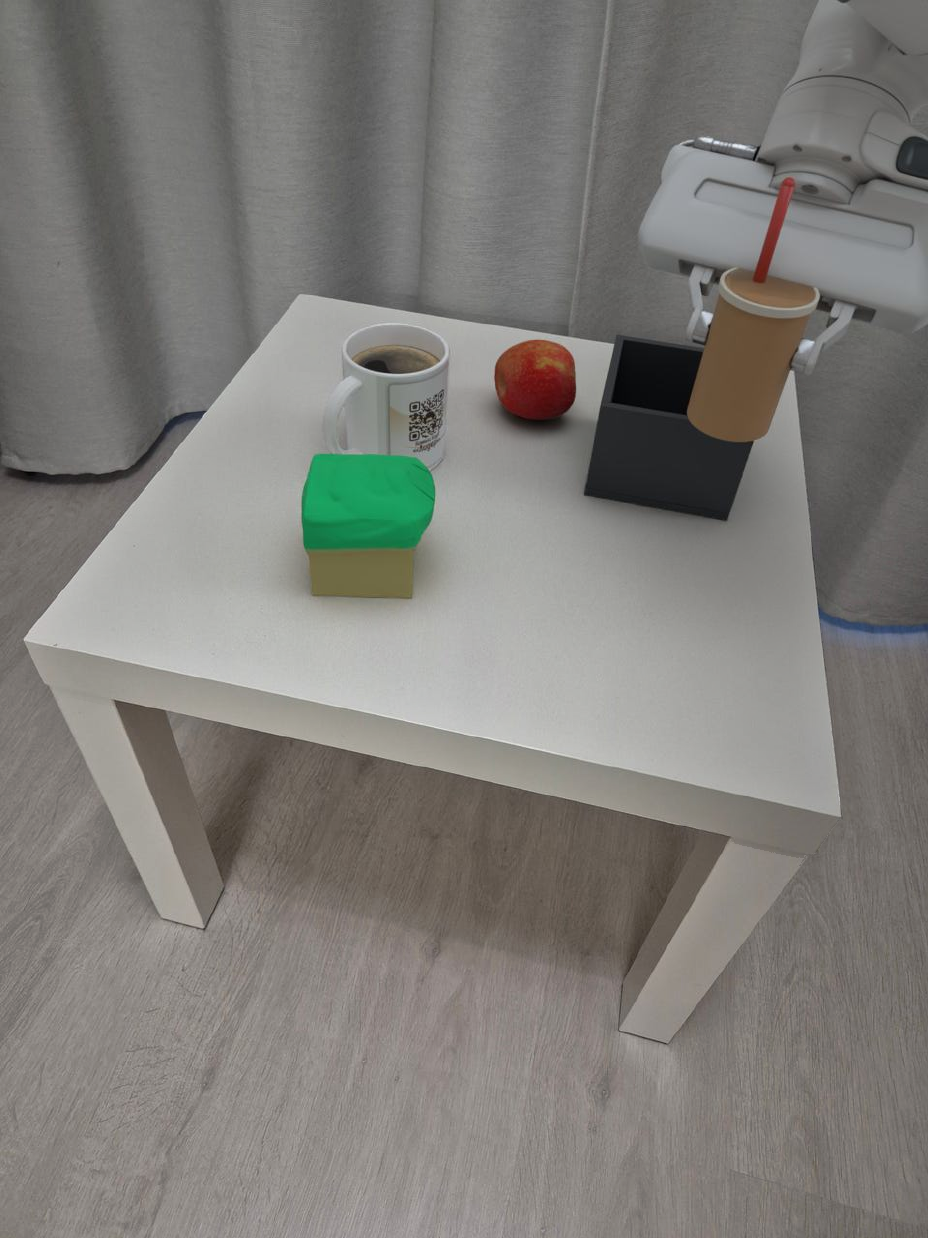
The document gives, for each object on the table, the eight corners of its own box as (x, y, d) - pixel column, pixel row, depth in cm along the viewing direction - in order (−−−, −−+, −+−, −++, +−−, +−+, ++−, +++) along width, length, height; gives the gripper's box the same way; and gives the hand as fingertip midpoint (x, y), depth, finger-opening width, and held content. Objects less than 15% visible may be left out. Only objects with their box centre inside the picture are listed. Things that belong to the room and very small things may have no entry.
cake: (432, 605, 72) (435, 509, 65) (302, 601, 72) (291, 504, 65) (433, 529, 79) (436, 435, 72) (314, 525, 79) (306, 430, 72)
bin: (727, 520, 82) (757, 431, 75) (583, 495, 84) (600, 405, 77) (729, 441, 92) (756, 356, 85) (600, 419, 93) (616, 334, 86)
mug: (452, 480, 84) (458, 377, 77) (327, 487, 83) (319, 382, 75) (438, 420, 92) (441, 320, 84) (322, 425, 90) (314, 323, 82)
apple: (572, 437, 91) (583, 367, 85) (491, 432, 91) (497, 362, 85) (567, 396, 96) (577, 328, 91) (491, 392, 96) (497, 323, 90)
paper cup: (790, 429, 64) (880, 193, 52) (726, 453, 61) (806, 210, 49) (728, 387, 67) (799, 158, 56) (666, 408, 65) (726, 172, 53)
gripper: (675, 102, 59) (599, 297, 60) (996, 167, 53) (909, 382, 54) (679, 154, 65) (610, 331, 66) (968, 219, 59) (889, 411, 60)
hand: (747, 355), depth 60 cm, fingers closed on paper cup, 6 cm apart
